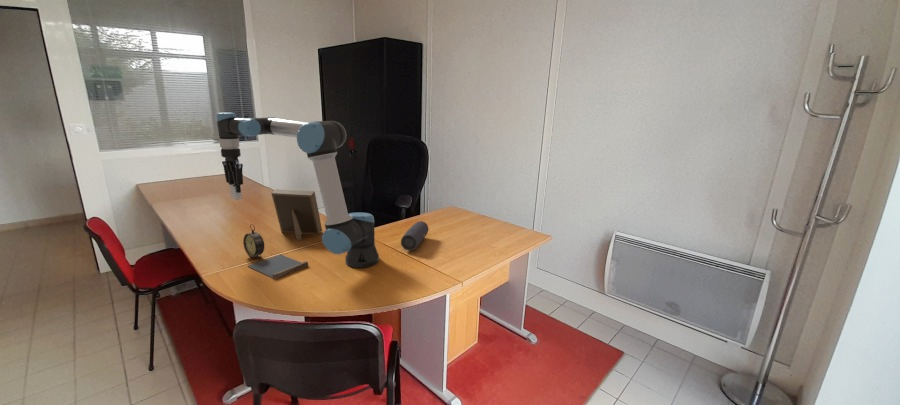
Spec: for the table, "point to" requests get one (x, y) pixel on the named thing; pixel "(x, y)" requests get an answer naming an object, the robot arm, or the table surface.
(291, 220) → the photo frame
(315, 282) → the table surface
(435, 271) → the table surface
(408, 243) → the bluetooth speaker
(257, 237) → the alarm clock
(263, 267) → the mat
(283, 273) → the stop strip
